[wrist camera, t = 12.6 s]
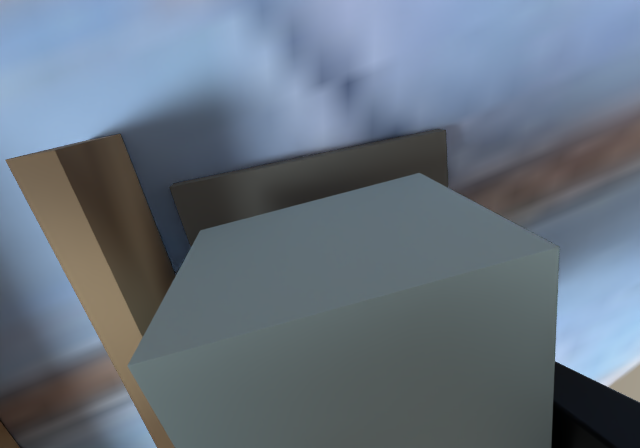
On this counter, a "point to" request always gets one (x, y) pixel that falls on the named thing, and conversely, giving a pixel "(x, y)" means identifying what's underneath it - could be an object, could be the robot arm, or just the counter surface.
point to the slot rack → (101, 248)
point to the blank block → (358, 328)
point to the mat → (306, 179)
